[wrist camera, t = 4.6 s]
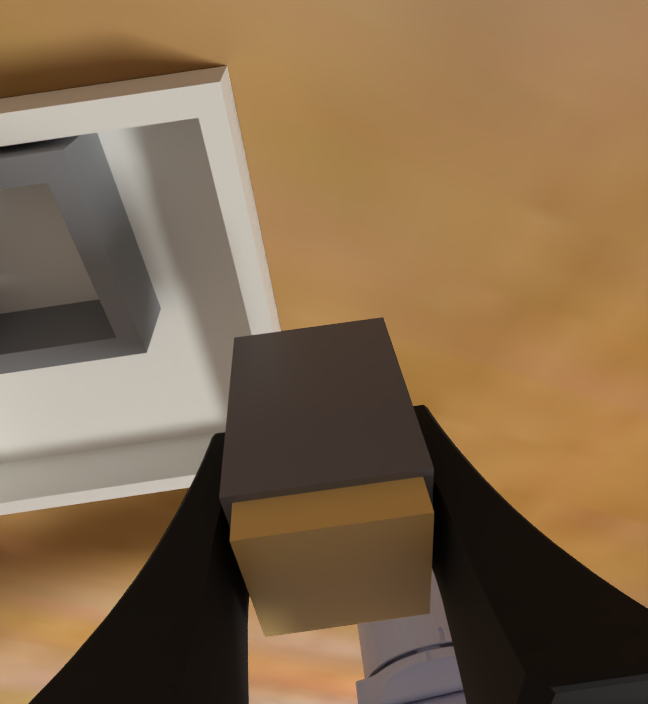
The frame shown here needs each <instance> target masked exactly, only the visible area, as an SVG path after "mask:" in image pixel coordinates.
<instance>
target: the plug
mask: <svg viewBox="0 0 648 704" xmlns="http://www.w3.org/2000/svg"><path fill="white" fill-rule="evenodd" d="M433 478H434V467H433V464H432V461H431V458H430V455H429V452H428V449H427V446H426V443H425V440H424V437H423V434H422V431H421V428H420V425H419V422H418V419H417V417H416V414H415V411H414V408H413V405H412V402H411V399H410V396H409V393H408V390H407V387H406V384H405V381H404V378H403V375H402V372H401V369H400V366H399V363H398V360H397V357H396V354H395V351H394V348H393V345H392V342H391V339H390V336H389V334H388V331H387V328H386V325H385V322H384V319H383V317H382V318H375V319H368V320H360V321H353V322H345V323H338V324H331V325H323V326H316V327H309V328H301V329H294V330H287V331H279V332H272V333H264V334H257V335H250V336H242V337H235V338H234V345H233V355H232V366H231V377H230V387H229V398H228V409H227V419H226V430H225V441H224V451H223V462H222V472H221V483H220V494H219V499H220V502H221V504H222V507H223V510H224V513H225V516H226V518H227V521H228V524H229V527H230V544H231V546H232V549H233V552H234V554H235V557H236V560H237V562H238V565H239V568H240V571H241V573H242V576H243V579H244V581H245V584H246V587H247V589H248V592H249V595H250V598H251V600H252V603H253V606H254V608H255V611H256V614H257V616H258V619H259V622H260V625H261V627H262V630H263V633H264V635H265V637H268V636H275V635H282V634H290V633H297V632H304V631H311V630H318V629H325V628H332V627H339V626H346V625H353V624H360V623H367V622H374V621H382V620H389V619H396V618H403V617H410V616H417V615H424V614H430V600H431V576H432V553H433V529H434V510H433V507H432V504H433Z"/></svg>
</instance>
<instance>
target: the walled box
mask: <svg viewBox="0 0 648 704" xmlns="http://www.w3.org/2000/svg"><path fill="white" fill-rule="evenodd" d="M279 331H281V329H280V324H279V319H278V314H277V309H276V304H275V299H274V294H273V289H272V284H271V279H270V274H269V269H268V265H267V260H266V255H265V250H264V245H263V240H262V235H261V230H260V225H259V220H258V215H257V210H256V205H255V200H254V196H253V191H252V186H251V181H250V176H249V171H248V166H247V161H246V156H245V151H244V146H243V141H242V136H241V131H240V127H239V122H238V117H237V112H236V107H235V102H234V97H233V92H232V87H231V82H230V77H229V72H228V67H227V66H221V67H215V68H208V69H201V70H194V71H187V72H180V73H173V74H167V75H160V76H153V77H146V78H139V79H132V80H125V81H118V82H112V83H105V84H98V85H91V86H84V87H77V88H70V89H64V90H57V91H50V92H43V93H36V94H29V95H22V96H15V97H9V98H2V99H0V515H5V514H12V513H19V512H26V511H33V510H39V509H46V508H53V507H60V506H67V505H74V504H80V503H87V502H94V501H101V500H108V499H115V498H121V497H128V496H135V495H142V494H149V493H156V492H162V491H169V490H176V489H183V488H190V486H191V484H192V482H193V480H194V477H195V475H196V473H197V471H198V469H199V467H200V465H201V462H202V460H203V458H204V455H205V453H206V451H207V448H208V446H209V443H210V441H211V438H212V437H213V436H214V434H216V433H223V432H225V430H226V419H227V409H228V398H229V387H230V377H231V366H232V355H233V345H234V338H235V337H242V336H250V335H257V334H264V333H272V332H279Z"/></svg>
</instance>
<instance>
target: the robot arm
mask: <svg viewBox="0 0 648 704" xmlns="http://www.w3.org/2000/svg"><path fill="white" fill-rule="evenodd" d="M413 408H414V411H415V414H416V417H417V419H418V422H419V425H420V428H421V431H422V434H423V437H424V440H425V443H426V446H427V449H428V452H429V455H430V458H431V461H432V464H433V467H434V478H433V504H432V507H433V510H434V529H433V553H432V576H431V600H430V614H424V615H417V616H410V617H403V618H396V619H389V620H382V621H374V622H367V623H360V624H357V625H358V632H359V640H360V647H361V654H362V661H363V669H364V676H365V679H363V680H360V681H357V682H356V690H357V698H358V704H648V608H646V607H644V606H643V605H641V604H639V603H638V602H636V601H635V600H633V599H632V598H630V597H629V596H627V595H626V594H624V593H622V592H621V591H619V590H618V589H617V588H615V587H614V586H612V585H611V584H609V583H608V582H606V581H605V580H603V579H602V578H600V577H599V576H598V575H596V574H595V573H593V572H592V571H591V570H589V569H588V568H587V567H585V566H584V565H583V564H581V563H580V562H579V561H577V560H576V559H575V558H573V557H572V556H571V555H569V554H568V553H567V552H565V551H564V550H563V549H561V548H560V547H559V546H557V545H556V544H555V543H554V542H552V541H551V540H550V539H549V538H548V537H546V536H545V535H544V534H543V533H542V532H540V531H539V530H538V529H537V528H536V527H534V526H533V525H532V524H531V523H530V522H529V521H528V520H526V519H525V518H524V517H523V516H522V515H521V514H520V513H519V512H517V511H516V510H515V509H514V508H513V507H512V506H511V505H510V504H509V503H508V502H507V501H506V500H505V499H504V498H503V497H502V496H501V495H500V494H499V493H498V492H497V491H496V490H495V489H494V488H493V487H492V486H491V485H490V484H489V483H488V482H487V481H486V480H485V479H484V478H483V477H482V476H481V474H480V473H479V472H478V471H477V470H476V469H475V468H474V467H473V466H472V464H471V463H470V462H469V461H468V460H467V459H466V458H465V456H464V455H463V454H462V453H461V452H460V451H459V449H458V448H457V447H456V446H455V445H454V443H453V442H452V441H451V439H450V438H449V437H448V436H447V434H446V433H445V432H444V430H443V429H442V428H441V427H440V425H439V424H438V422H437V421H436V420H435V418H434V417H433V415H432V414H431V412H430V411H429V409H428V408H427V407H426V406H424V405H419V406H413ZM224 441H225V432H223V433H216V434H214V436H213V437H212V438H211V441H210V443H209V446H208V448H207V451H206V453H205V455H204V458H203V460H202V462H201V465H200V467H199V469H198V471H197V473H196V475H195V477H194V480H193V482H192V484H191V486H190V488H189V490H188V491H187V493H186V495H185V497H184V499H183V501H182V503H181V505H180V507H179V509H178V511H177V513H176V514H175V516H174V518H173V520H172V521H171V523H170V525H169V526H168V528H167V530H166V532H165V533H164V535H163V537H162V539H161V540H160V542H159V543H158V545H157V547H156V548H155V550H154V551H153V553H152V555H151V556H150V558H149V559H148V561H147V562H146V564H145V565H144V567H143V568H142V570H141V571H140V572H139V574H138V575H137V577H136V578H135V580H134V581H133V582H132V584H131V585H130V586H129V588H128V589H127V591H126V592H125V593H124V595H123V596H122V597H121V599H120V600H119V601H118V603H117V604H116V605H115V607H114V608H113V609H112V610H111V612H110V613H109V614H108V616H107V617H106V618H105V619H104V621H103V622H102V623H101V624H100V625H99V627H98V628H97V629H96V630H95V631H94V632H93V634H92V635H91V636H90V637H89V638H88V639H87V641H86V642H85V643H84V644H83V645H82V646H81V648H80V649H79V650H78V651H77V652H76V653H75V655H74V656H73V657H72V658H71V659H70V660H69V661H68V663H67V664H66V665H65V666H64V667H63V668H62V669H61V670H60V671H59V672H58V673H57V674H56V676H55V677H54V678H53V679H52V680H51V681H50V682H49V683H48V684H47V685H46V686H45V687H44V688H43V689H42V690H41V691H40V692H39V693H38V694H37V695H36V696H35V697H34V698H33V699H32V700H31V701H30V703H29V704H249V696H248V606H249V592H248V589H247V587H246V584H245V581H244V579H243V576H242V573H241V571H240V568H239V565H238V562H237V560H236V557H235V554H234V552H233V549H232V546H231V544H230V527H229V524H228V521H227V518H226V516H225V513H224V510H223V507H222V504H221V502H220V499H219V494H220V483H221V472H222V462H223V451H224Z"/></svg>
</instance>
